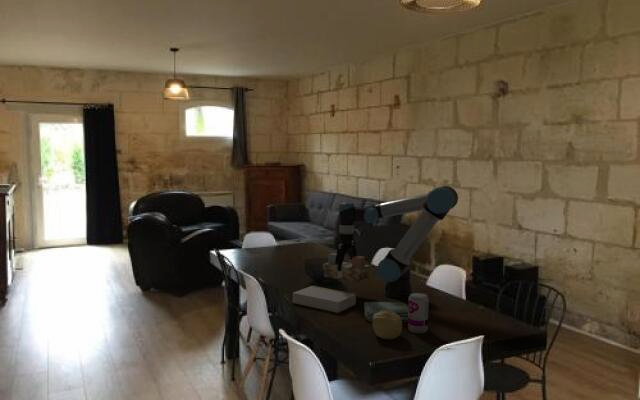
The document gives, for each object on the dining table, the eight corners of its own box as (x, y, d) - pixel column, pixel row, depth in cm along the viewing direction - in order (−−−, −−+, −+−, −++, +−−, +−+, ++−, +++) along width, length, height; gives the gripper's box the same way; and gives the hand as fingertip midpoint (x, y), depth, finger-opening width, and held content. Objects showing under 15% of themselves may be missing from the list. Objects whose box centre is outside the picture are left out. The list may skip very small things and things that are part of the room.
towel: (362, 309, 242) (362, 299, 242) (408, 310, 241) (408, 300, 241) (364, 322, 224) (365, 311, 223) (413, 323, 223) (414, 312, 223)
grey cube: (340, 262, 269) (340, 253, 268) (336, 264, 265) (336, 255, 264) (333, 261, 271) (333, 252, 271) (328, 263, 267) (328, 254, 267)
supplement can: (416, 335, 208) (417, 298, 207) (403, 328, 215) (404, 293, 214) (431, 332, 212) (433, 296, 211) (419, 325, 219) (420, 291, 218)
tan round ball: (369, 339, 202) (370, 313, 201) (377, 329, 214) (377, 304, 213) (398, 343, 198) (399, 316, 197) (404, 333, 210) (405, 308, 209)
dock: (355, 304, 249) (355, 294, 248) (338, 312, 235) (338, 301, 235) (311, 295, 263) (311, 285, 263) (292, 302, 250) (292, 292, 249)
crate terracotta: (365, 266, 261) (365, 256, 260) (360, 267, 257) (360, 258, 256) (356, 265, 263) (357, 255, 263) (352, 266, 259) (352, 257, 259)
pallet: (370, 277, 263) (370, 265, 263) (359, 282, 254) (359, 269, 253) (334, 272, 275) (334, 260, 275) (322, 276, 266) (322, 264, 266)
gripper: (351, 229, 274) (351, 269, 276) (327, 235, 255) (327, 278, 257) (364, 230, 270) (363, 271, 272) (340, 236, 251) (340, 280, 253)
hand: (346, 275), depth 265 cm, fingers closed on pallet, 11 cm apart
